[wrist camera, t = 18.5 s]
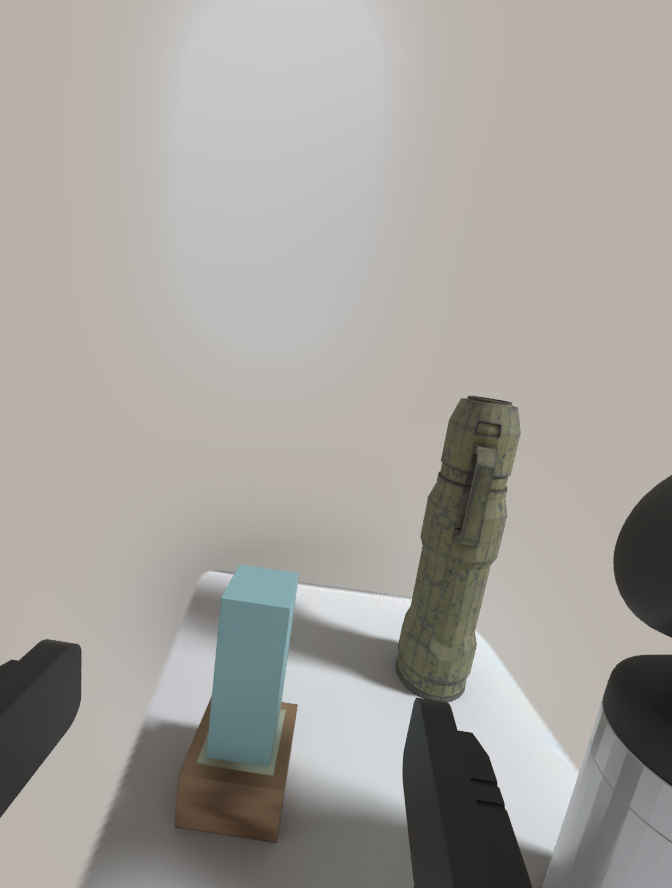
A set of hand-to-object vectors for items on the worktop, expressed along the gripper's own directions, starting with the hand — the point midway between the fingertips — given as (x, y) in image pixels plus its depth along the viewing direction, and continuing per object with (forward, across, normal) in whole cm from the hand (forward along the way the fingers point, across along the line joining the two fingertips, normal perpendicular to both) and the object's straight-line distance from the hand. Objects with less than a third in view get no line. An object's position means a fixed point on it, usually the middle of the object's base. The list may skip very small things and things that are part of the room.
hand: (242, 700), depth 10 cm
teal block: (+21, +3, +24) cm, 32 cm away
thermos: (+38, -16, +30) cm, 51 cm away
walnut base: (+21, +3, +29) cm, 36 cm away
